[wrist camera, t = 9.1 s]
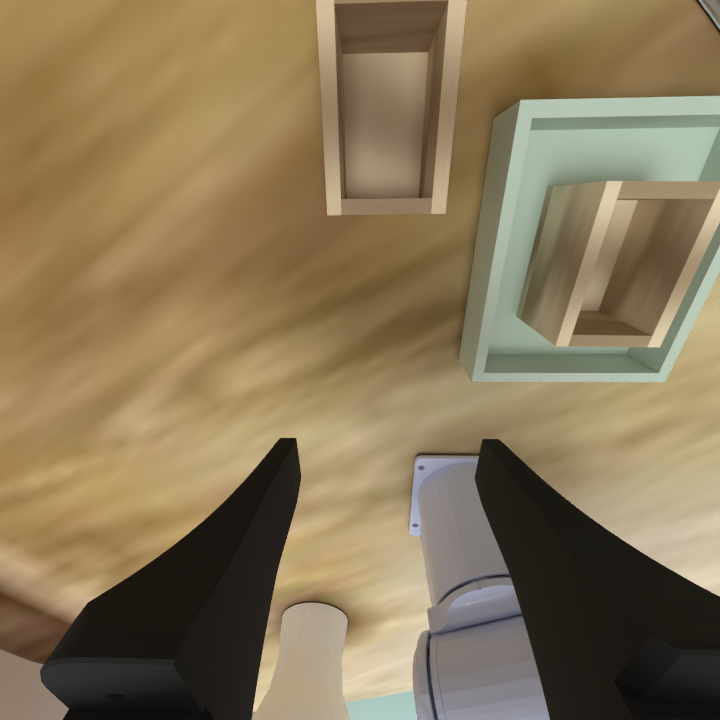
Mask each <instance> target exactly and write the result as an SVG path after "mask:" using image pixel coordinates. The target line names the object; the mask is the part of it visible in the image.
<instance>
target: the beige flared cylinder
mask: <svg viewBox="0 0 720 720" xmlns="http://www.w3.org/2000/svg"><path fill="white" fill-rule="evenodd" d="M347 624H348V619H347V617H346V615H345V614H344V613H343V612H342V611H340V610H339V609H337V608H335V607H333V606H330V605H326V604H322V603H301V604H297V605H294V606H292V607H290V608H288V609H287V610H286V611H285V612H284V614H283V616H282V624H281V635H280V650H279V658H278V662H277V665H276V668H275V672H274V675H273V678H272V682H271V685H270V688H269V690H268V692H267V694H266V695H265V697H264V699H263V701H262V702H261V704H260V706H259V707H258V709H257V711H256V713H255V715H254V716H253V718H252V720H350V718H349V714H348V711H347V708H346V704H345V701H344V697H343V694H342V669H341V660H342V655H343V649H344V644H345V638H346V631H347Z"/></svg>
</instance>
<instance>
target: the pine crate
mask: <svg viewBox="0 0 720 720" xmlns="http://www.w3.org/2000/svg"><path fill="white" fill-rule="evenodd" d="M719 222H720V181H602V182H592V183H582V184H572V185H561V186H551V187H547V190H546V194H545V198H544V202H543V207H542V211H541V215H540V219H539V223H538V228H537V232H536V236H535V240H534V244H533V248H532V253H531V257H530V261H529V265H528V269H527V274H526V278H525V282H524V286H523V290H522V295H521V299H520V303H519V307H518V311H517V315H516V317H518V318H519V319H520V320H522V321H523V322H524V323H525V324H527V325H528V326H529V327H531V328H532V329H533V330H535V331H536V332H537V333H539V334H540V335H541V336H543V337H544V338H545V339H547V340H548V341H549V342H551V343H552V344H553V345H555V346H576V347H657V348H660V346H661V344H662V342H663V340H664V338H665V336H666V334H667V331H668V329H669V327H670V325H671V323H672V321H673V319H674V317H675V315H676V313H677V311H678V308H679V306H680V304H681V302H682V300H683V298H684V296H685V294H686V292H687V290H688V287H689V285H690V283H691V281H692V279H693V277H694V275H695V273H696V271H697V269H698V267H699V264H700V262H701V260H702V258H703V256H704V254H705V252H706V250H707V248H708V246H709V243H710V241H711V239H712V237H713V235H714V233H715V231H716V229H717V227H718V225H719Z"/></svg>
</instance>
